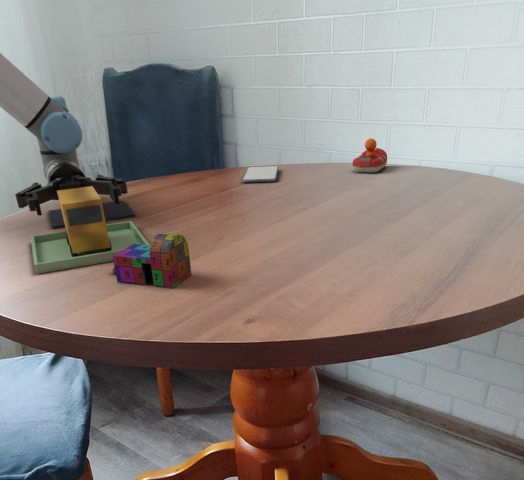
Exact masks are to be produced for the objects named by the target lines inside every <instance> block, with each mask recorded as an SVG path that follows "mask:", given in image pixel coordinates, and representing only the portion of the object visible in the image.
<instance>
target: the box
mask: <svg viewBox="0 0 524 480" xmlns="http://www.w3.org/2000/svg"><path fill="white" fill-rule="evenodd" d="M106 227H107V232H108V237H109V239H110V242H111V246H112V250H108V251H106V250H105V248H104V249H98V250H92V251H86V252H80V253H77V254H78V255H77V256H71V252H70V248H69V245H68V244H67V240H66V235H65V233H66V230H61V231H55V232H47V233H42V234H35V235H30V243H31V250H32V261H33V267H34V270H35V274H36V275H39V274H45V273H51V272H56V271H62V270H67V269H68V270H69V269H73V268H79V267H86V266H90V265H97V264H103V263H109V262H113V255H115V254H117V253H118V252H120V251H122V250H124V249H126V248H127V247H129V246H131V245H133V244H142V245H151V243H149V242H148V239H146V238H145V236H144V235H143V234H142V232H141V231H140V230H139V229H138V227H137V226H136V225H135V224H134V222H133V221H132V220H129V221H128V220H127V221H119V222H114V223H106Z"/></svg>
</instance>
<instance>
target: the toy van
mask: <svg viewBox="0 0 524 480" xmlns="http://www.w3.org/2000/svg"><path fill="white" fill-rule="evenodd" d="M57 194H58V198H59V200H58V201H59V206H60V209H61V211H62V215H63V220H64V224H65V227H64V228H65V231H66V233H65V235H66V240H67V244H68V245H69V248H70V252H71V256H77V255H78V254H77V253H80V252H86V251H92V250H98V249H104V248H105V250H106V251H108V250H112V246H111V242H110V239H109V237H108V232H107V227H106V224H107V221H105V217H104V211H103V206H102V203H103V201H102V198H101V197H100V194H97V192H96V191H95V189H94V188H93V186H90V187H82V188H74V189H66V190H59V191H57Z"/></svg>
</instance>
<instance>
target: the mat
mask: <svg viewBox="0 0 524 480" xmlns="http://www.w3.org/2000/svg"><path fill="white" fill-rule="evenodd" d="M119 202H120V204H115V203H114V202H113V201H108V202H102V206H103V211H104V217H105V222H108V221H114V220H121V219H122V220H123V219H128V218H134V217H135V214H134V212H133V211H132V210H131V209H130V208H129V207H128V205H127V204H126V203H125V202H124V201H123V200H119ZM48 215H49V219H50V222H51V227H52V229H54V230H55V229H62V228H65V224H64V220H63V215H62V211H61V208H58V209H51V210H48Z"/></svg>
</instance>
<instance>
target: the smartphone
mask: <svg viewBox="0 0 524 480" xmlns="http://www.w3.org/2000/svg"><path fill="white" fill-rule="evenodd" d="M278 172H279V165H271V166H270V165H269V166H266V165H265V166H249V167H247V169H246V171H245V174H244V175H243V178H242V183H269V182H270V183H271V182H276V181H277V176H278Z"/></svg>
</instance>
